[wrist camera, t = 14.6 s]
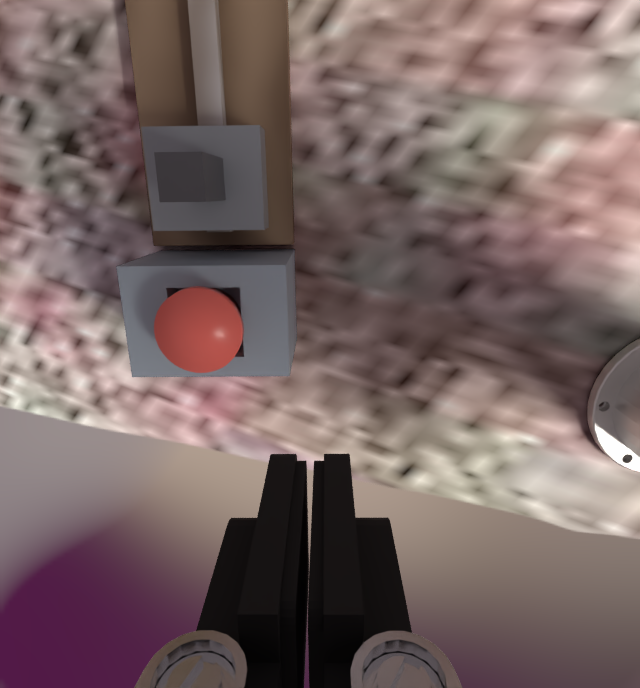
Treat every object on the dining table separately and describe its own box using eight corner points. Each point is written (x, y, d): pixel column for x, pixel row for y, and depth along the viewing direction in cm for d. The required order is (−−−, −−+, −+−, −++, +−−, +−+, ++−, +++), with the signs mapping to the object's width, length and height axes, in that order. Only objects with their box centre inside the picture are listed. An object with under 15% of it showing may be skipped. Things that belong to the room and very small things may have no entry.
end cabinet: (294, 249, 35) (286, 264, 27) (296, 338, 37) (289, 376, 30) (161, 250, 35) (116, 266, 28) (171, 339, 37) (132, 376, 30)
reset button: (249, 276, 30) (238, 288, 26) (253, 351, 31) (244, 372, 27) (170, 277, 30) (148, 289, 26) (178, 352, 31) (159, 373, 28)
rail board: (283, -175, 27) (275, -242, 23) (294, 242, 35) (289, 249, 31) (113, -171, 28) (74, -237, 23) (160, 243, 35) (137, 250, 31)
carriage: (266, 132, 31) (245, 110, 23) (270, 226, 33) (252, 237, 25) (160, 133, 31) (102, 112, 23) (170, 227, 33) (120, 238, 25)
